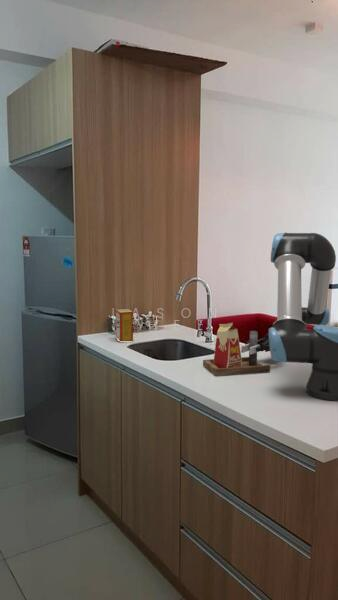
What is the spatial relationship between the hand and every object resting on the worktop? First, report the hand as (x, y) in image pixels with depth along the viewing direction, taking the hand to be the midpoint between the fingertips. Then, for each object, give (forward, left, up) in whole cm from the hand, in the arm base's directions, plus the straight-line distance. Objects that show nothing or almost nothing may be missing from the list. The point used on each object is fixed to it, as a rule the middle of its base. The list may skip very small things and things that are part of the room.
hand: (246, 350), depth 194 cm
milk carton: (+3, +7, -9) cm, 12 cm away
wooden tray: (+3, +4, -9) cm, 10 cm away
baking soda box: (+66, +39, -9) cm, 77 cm away
